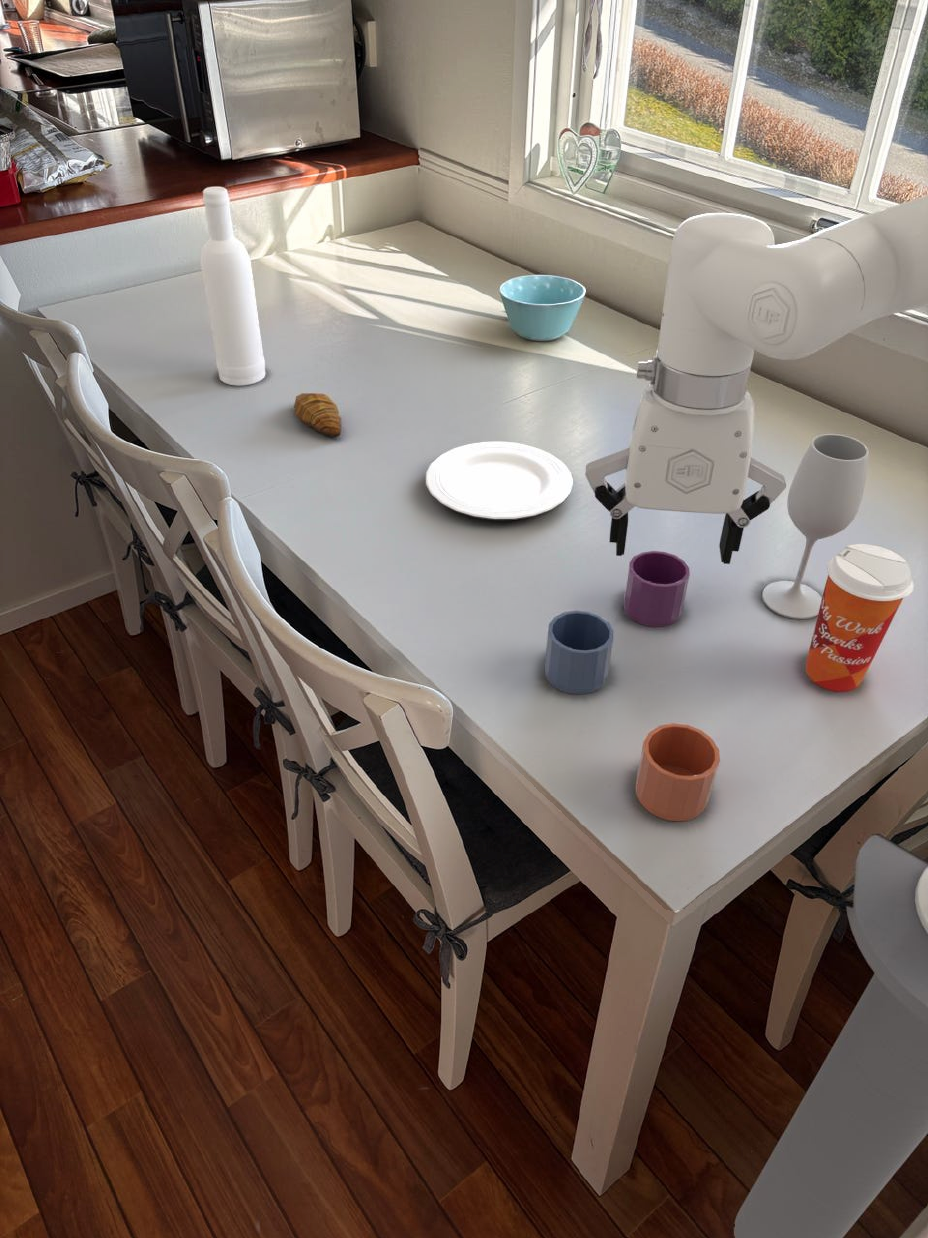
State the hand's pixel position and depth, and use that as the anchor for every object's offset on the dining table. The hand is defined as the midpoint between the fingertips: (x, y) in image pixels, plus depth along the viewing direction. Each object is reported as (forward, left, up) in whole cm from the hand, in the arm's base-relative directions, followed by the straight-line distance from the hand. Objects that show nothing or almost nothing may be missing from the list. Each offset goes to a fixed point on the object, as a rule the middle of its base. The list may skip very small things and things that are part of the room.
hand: (671, 551), depth 86 cm
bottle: (+96, -1, -20) cm, 98 cm away
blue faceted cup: (+7, +3, -19) cm, 21 cm away
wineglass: (+1, -27, -20) cm, 33 cm away
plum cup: (+10, -12, -19) cm, 25 cm away
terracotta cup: (-11, +7, -19) cm, 23 cm away
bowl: (+81, -55, -20) cm, 100 cm away
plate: (+42, -14, -20) cm, 49 cm away
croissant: (+74, -3, -20) cm, 77 cm away
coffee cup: (-10, -20, -20) cm, 30 cm away
